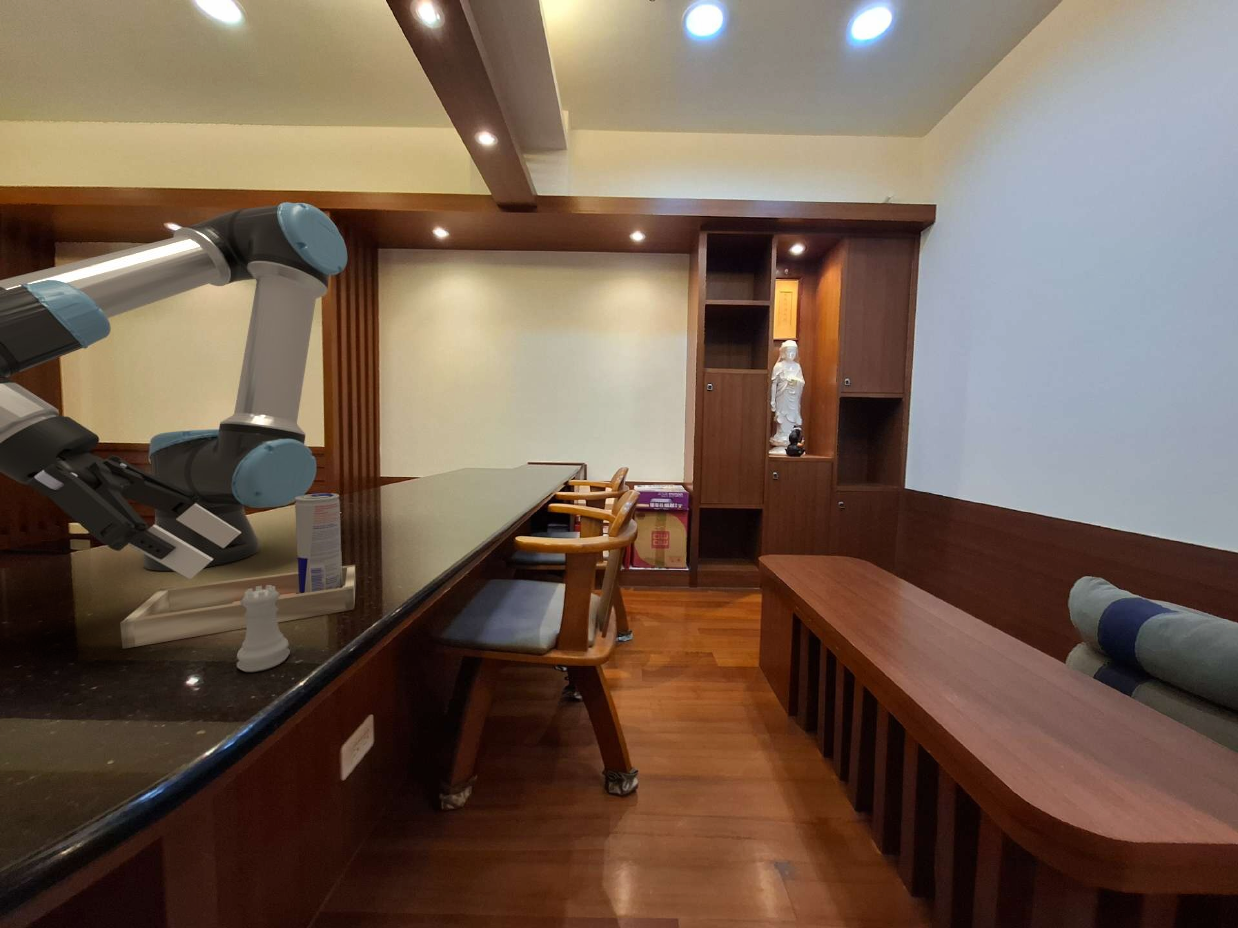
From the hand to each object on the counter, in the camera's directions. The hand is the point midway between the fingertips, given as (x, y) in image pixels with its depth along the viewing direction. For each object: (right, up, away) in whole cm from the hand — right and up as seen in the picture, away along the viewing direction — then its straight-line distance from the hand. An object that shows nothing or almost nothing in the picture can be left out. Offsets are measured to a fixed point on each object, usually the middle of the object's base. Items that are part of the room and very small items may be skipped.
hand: (219, 553), depth 56 cm
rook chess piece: (+14, -10, -10) cm, 19 cm away
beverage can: (+9, -8, +6) cm, 14 cm away
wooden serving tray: (+3, -8, +3) cm, 9 cm away
